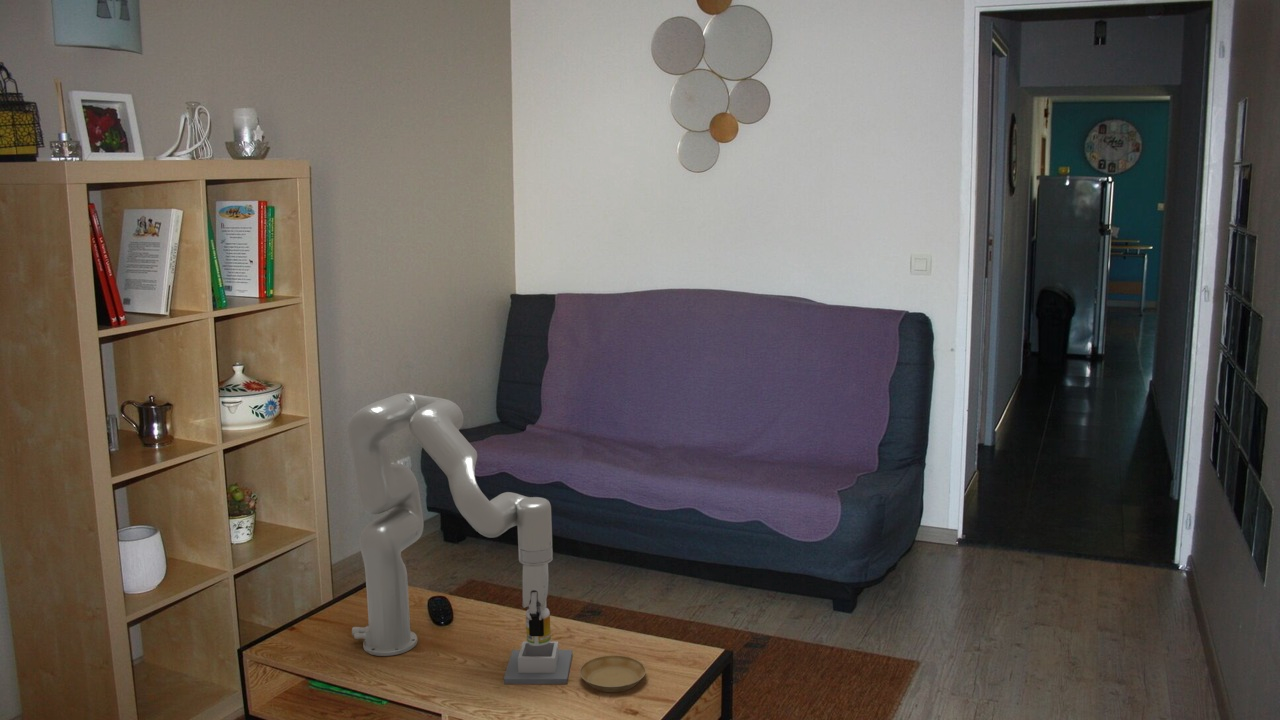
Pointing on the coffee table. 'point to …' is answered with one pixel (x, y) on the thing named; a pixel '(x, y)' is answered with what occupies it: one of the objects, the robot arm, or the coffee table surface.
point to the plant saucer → (612, 673)
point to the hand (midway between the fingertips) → (538, 628)
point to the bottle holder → (538, 665)
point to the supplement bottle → (547, 633)
